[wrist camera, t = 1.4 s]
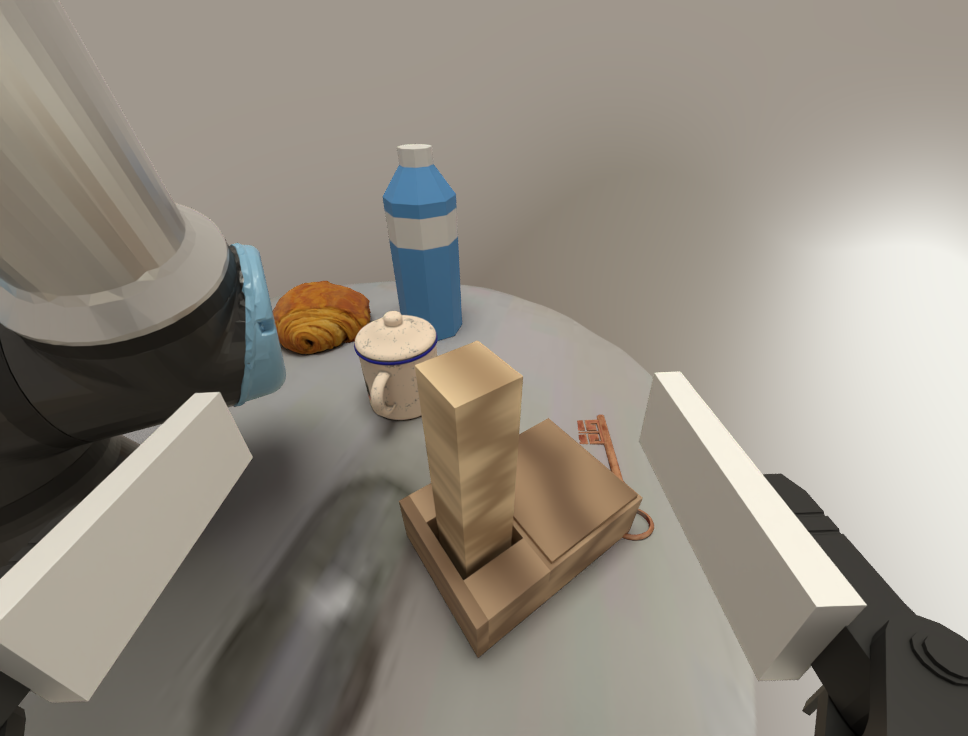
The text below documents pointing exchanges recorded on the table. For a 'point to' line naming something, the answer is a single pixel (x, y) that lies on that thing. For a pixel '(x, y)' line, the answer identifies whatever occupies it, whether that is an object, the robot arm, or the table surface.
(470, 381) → the wooden key peg
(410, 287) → the water bottle
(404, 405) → the teacup with lid
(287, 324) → the croissant
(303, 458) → the table surface
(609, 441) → the key
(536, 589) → the wooden sliding lid box
